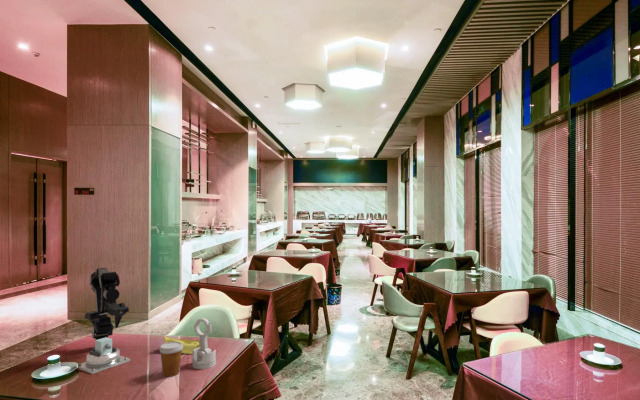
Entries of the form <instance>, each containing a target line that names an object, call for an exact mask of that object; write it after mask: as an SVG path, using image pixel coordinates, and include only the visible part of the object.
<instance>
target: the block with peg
mask: <svg viewBox="0 0 640 400" xmlns="http://www.w3.org/2000/svg"><path fill="white" fill-rule="evenodd" d="M94 347H95V352H98V353H100V356H102V355H105V354H108V353H111V352H112V347H113V338H111V337H108V338H107V337H105V338H102V339H98V340H94Z"/></svg>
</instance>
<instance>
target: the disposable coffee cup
mask: <svg viewBox="0 0 640 400" xmlns="http://www.w3.org/2000/svg"><path fill="white" fill-rule="evenodd" d="M182 349H183V345H182V343H181V342H169V343H165V342H164V343H163V344H161V345H160V348H159V349H158V350H159V352H160V360H161V361H160V362H161V368H162V376H163V377H174V376H177V375H179V373H180V365H181V360H182V354H183V353H182Z"/></svg>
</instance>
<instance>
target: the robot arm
mask: <svg viewBox="0 0 640 400" xmlns="http://www.w3.org/2000/svg"><path fill="white" fill-rule="evenodd" d="M88 281H89V286H90V289H91V290H92V292H93V293H94V295H95V296H94V297H95V308H96V309H95V310H92V311H87V312H85V314H84V320H87V321H90V323H91V324H92V329H91V337H92V339H93V340H94V339H95V340H98V339H102V338H105V337H107V338H109V336H113V333H114V328H116V329H117V328H119V325H120V322H121V320H122V318H123V316H125V315H126V314H127V313H129V312H130V308H129V306H128V305H125V304H126V303H125V302H120V303H117V299H118V298H119V297H120V291H119V290H118V289H117V288H116V287H120V283H121V281H120V276H119V274H118V273H117V272H116V271H109V269H108V267H98V268H95V270H94V272H92V273H91V274H90V277H89V280H88ZM108 315H110V316H114V325H113V323H112V318H111V317H110V316H108ZM114 326H115V327H114ZM95 340H94V341H95ZM94 349H95V346H94V347H91V350H94Z"/></svg>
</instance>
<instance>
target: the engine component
mask: <svg viewBox="0 0 640 400" xmlns="http://www.w3.org/2000/svg"><path fill="white" fill-rule="evenodd" d="M201 322H203V324H204V325H205V328H206V331H205V333H203V332H202V331H201V329H200V324H201ZM194 333H196V335H197V336H199V337H198V339H199V341H200V347H199V348H196V349H194V350H193V354H192V365H191V366H192V368H193V369H195V370H206V369H209V368H212V367H214V366H215V365H216V363H217V361H216V360H217V359H216V355H217V354H216V353H217V351H216V350H217V348H215V349H214V350H213V351H212V349H211V348H209V346H208V344H209V343H208V336H209V334H210V333H212V324H211V323H210V321H209V320H208V319H207V318H205V317H201V318H199V319H197V320H196V322H195V323H194Z"/></svg>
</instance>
